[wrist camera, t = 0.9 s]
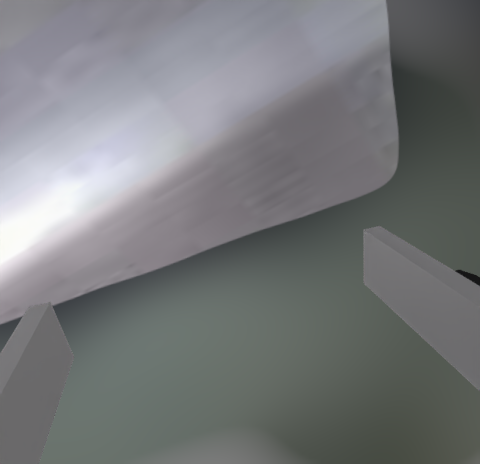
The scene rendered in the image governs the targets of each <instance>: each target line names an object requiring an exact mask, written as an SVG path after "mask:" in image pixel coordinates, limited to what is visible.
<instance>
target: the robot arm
mask: <svg viewBox="0 0 480 464" xmlns="http://www.w3.org/2000/svg"><path fill="white" fill-rule="evenodd" d="M364 284H365V285H366V286H367V287H368V288H369V289H370V290H372V291H373V292H374V293H375V294H376V295H377V296H378V297H379V298H380V299H381V300H382V301H383V302H384V303H386V304H387V305H388V306H389V307H390V308H391V309H392V310H393V311H394V312H395V313H396V314H397V315H398V316H400V317H401V318H402V319H403V320H404V321H405V322H406V323H407V324H408V325H409V326H410V327H411V328H412V329H413V330H415V331H416V332H417V333H418V334H419V335H420V336H421V337H422V338H423V339H424V340H425V341H426V342H428V343H429V344H430V345H431V346H432V347H433V348H434V349H435V350H436V351H437V352H438V353H439V354H440V355H441V356H442V357H444V358H445V359H446V360H447V361H448V362H449V363H450V364H451V365H452V366H453V367H454V368H455V369H457V370H458V371H459V372H460V373H461V374H462V375H463V376H464V377H465V378H466V379H467V380H468V381H469V382H471V383H472V384H473V385H474V386H475V387H476V388H477V389H478V390H479V391H480V277H478V276H476V275H474V274H470V273H468V272H465V271H461V270H457V271H454V270H452V269H450V268H449V267H447V266H445V265H444V264H442V263H440V262H439V261H437V260H435V259H434V258H432V257H430V256H429V255H427V254H425V253H424V252H422V251H420V250H419V249H417V248H415V247H414V246H412V245H410V244H409V243H407V242H405V241H404V240H402V239H400V238H399V237H397V236H395V235H394V234H392V233H390V232H389V231H387V230H386V229H384V228H382V227H380V226H378V227H373V228H369V229H364ZM73 359H74V356H73V353H72V351H71V349H70V346H69V344H68V342H67V340H66V337H65V335H64V333H63V331H62V328H61V326H60V323H59V321H58V319H57V317H56V314H55V312H54V310H53V307H52V305H51V303H50V302H48V303H44V304H39V305H35V306H31V307H29V308H28V310H27V311H26V313H25V314H24V316H23V318H22V319H21V321H20V323H19V324H18V326H17V327H16V329H15V331H14V332H13V334H12V335H11V337H10V339H9V340H8V342H7V343H6V345H5V347H4V348H3V350H2V352H1V353H0V464H39V461H40V458H41V455H42V452H43V449H44V446H45V443H46V440H47V437H48V434H49V431H50V428H51V425H52V422H53V419H54V416H55V413H56V410H57V407H58V404H59V400H60V398H61V395H62V392H63V389H64V386H65V383H66V379H67V377H68V374H69V371H70V368H71V365H72V362H73Z"/></svg>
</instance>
